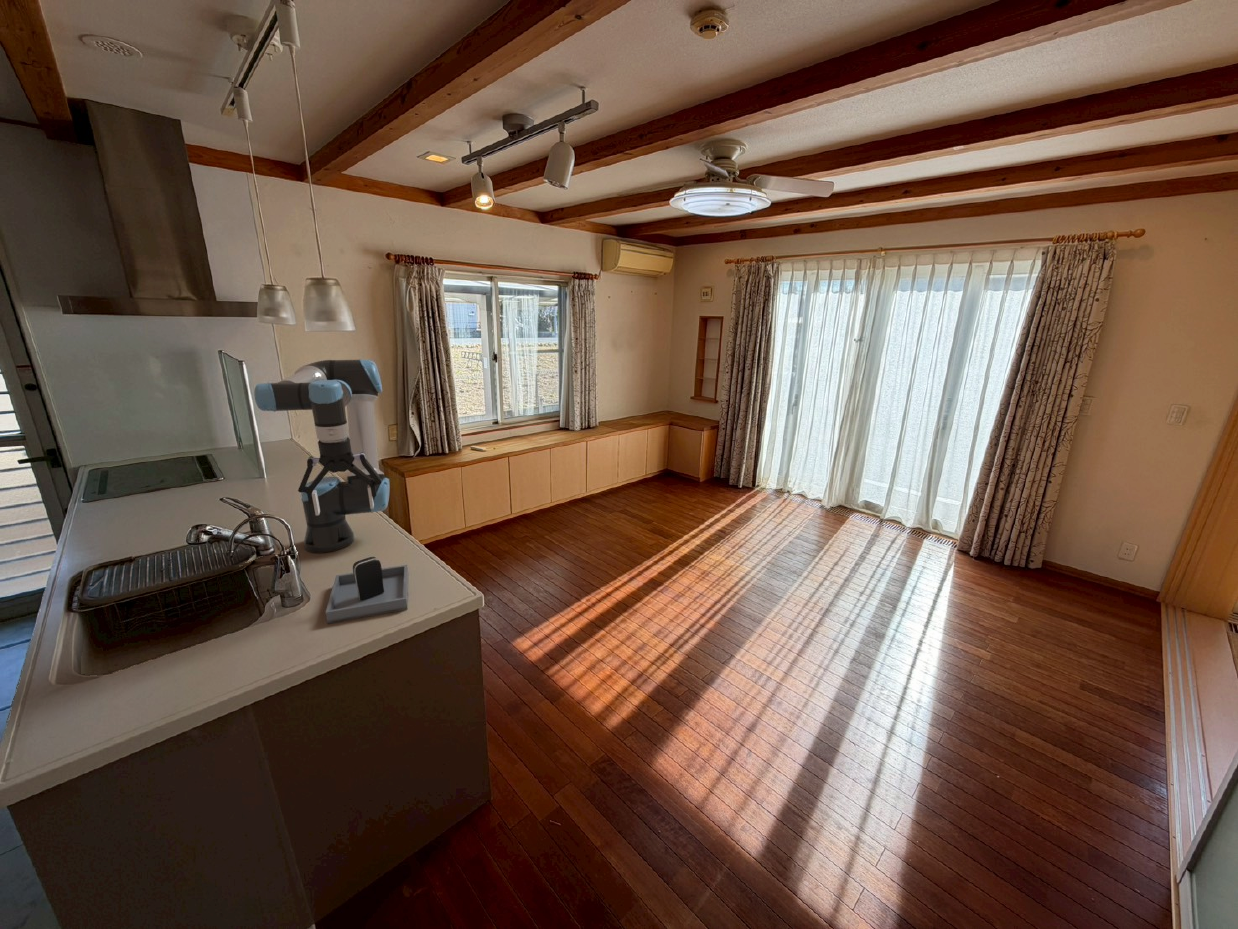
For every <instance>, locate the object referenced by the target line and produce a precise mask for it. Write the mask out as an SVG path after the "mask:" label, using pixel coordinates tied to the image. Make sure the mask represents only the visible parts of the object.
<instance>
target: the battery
mask: <svg viewBox="0 0 1238 929" xmlns="http://www.w3.org/2000/svg"><path fill="white" fill-rule="evenodd" d="M352 573H353V574H354V579H355V581H356V585H357V589H358V597H359V599H360V600H365V599H368V598H371V597H374V596H376V595H379V594H381V593H384V587H383V576H382V562H381V560H380V559H378V558H377V557H375V556H371V557H370V556H369V557H366V558H363V559H360V560H357V561H355V562H354V563H353V565H352Z"/></svg>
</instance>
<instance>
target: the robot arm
mask: <svg viewBox="0 0 1238 929" xmlns="http://www.w3.org/2000/svg"><path fill="white" fill-rule="evenodd" d="M381 393H383V386H382V380H381V376H380V373H379V369H378V366H377V364H376V363H375V361H373V360H369V359H325V360H318V361H314V362H311V363H309V364H306V365H302V366H300V367H299V368H297V370H295V372H294V374H292V375H290V376H288V377H287V378H283V379H282V380H280V381H278V382H266V383H258V384H256V386H255V387H254V401H255V403H256V406H257V408H258V409H259V410H260V411H262V412H274V413H275V412H281V411H282V412H284V411H312V416H313V422H314V429H315V433H316V439H317V440H318V441H317V445H318V451H319V457H313V456H309V457H308V458H307V460H306V463H307V464H306V465H307V466H306V470H305V473H304V475H303V477H302V480H301V482H300V483H299V484H300V485H299V487H298V489H297V492H299V493H301V502H302V505H303V506H302V508H303V511H304V517H305V522H306V530H305V535H304V540H303V544H304V548H305V550H306V551H307V552H310V553H314V554H321V553H322V554H323V553H331V552H335V551H338V550H341V549H344V548H346V547H348V546H350V545H351V544H352V543H353V542H354V541H355V535H354V532H353V530H352V528H351V526H350V524H349V523H348V521H347V519H346V516H347V515H358V514H359V515H360V514H369V513H371V514H373V513H377V512H382V511H386V509H387V508H388V505H389V499H390V493H391V492H390V489H391V488H390V487H391V486H390V478H387V477H385V473H384V472H383V471H382V470H380V467H379V465H380V464H379V454H378V442H377V441H378V440H377V427H376V416H375V415H376V413H375V402H376V401H377V400H378V399H379V394H381ZM346 413H347V414H346ZM318 463H319V464H320V465H321V466H323V468H321V471H319V473H318V474H317V475H316V477H315V478H314V479H313V480H311V481H309V478H310V476H311V473H312V472H313V468H314V467H316V466H317V464H318ZM346 471H349V473H348V474H347V475H346V481H341V480H340V478H339V477H338V476H326V475H327V474H328V473H329V472H331V474H332V473H339V472H341V473H344V472H346ZM308 481H309V482H308Z"/></svg>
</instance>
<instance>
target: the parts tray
mask: <svg viewBox="0 0 1238 929" xmlns="http://www.w3.org/2000/svg"><path fill="white" fill-rule="evenodd" d="M381 568H382V567H381ZM408 568H409V567H408V564H403V565H397V566H396V565H395V566H391V567H383V568H382V576H383V587H384V593H381V594H379V595H376V596H374V597H371V598H368V599H365V600H360V599H359V597H358V589H357V585H356V581H355V579H354V574H353V572H351V573H344V574H338V575H337V574H336V575H335V578H334V581H333V585H332V588H331V591H330V596H329V598H328V602H327V607H326V610H325V617H326V618H325V619H326V623H327V625H330V624H335V623H341V622H345V621H346V622H348V621H350V620H357V619H363V618H367V617H372V616H380V615H384V614H385V615H386V614H389V613H395V612H401V611H407V610H408V606H409V603H408V602H409V570H408Z"/></svg>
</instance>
